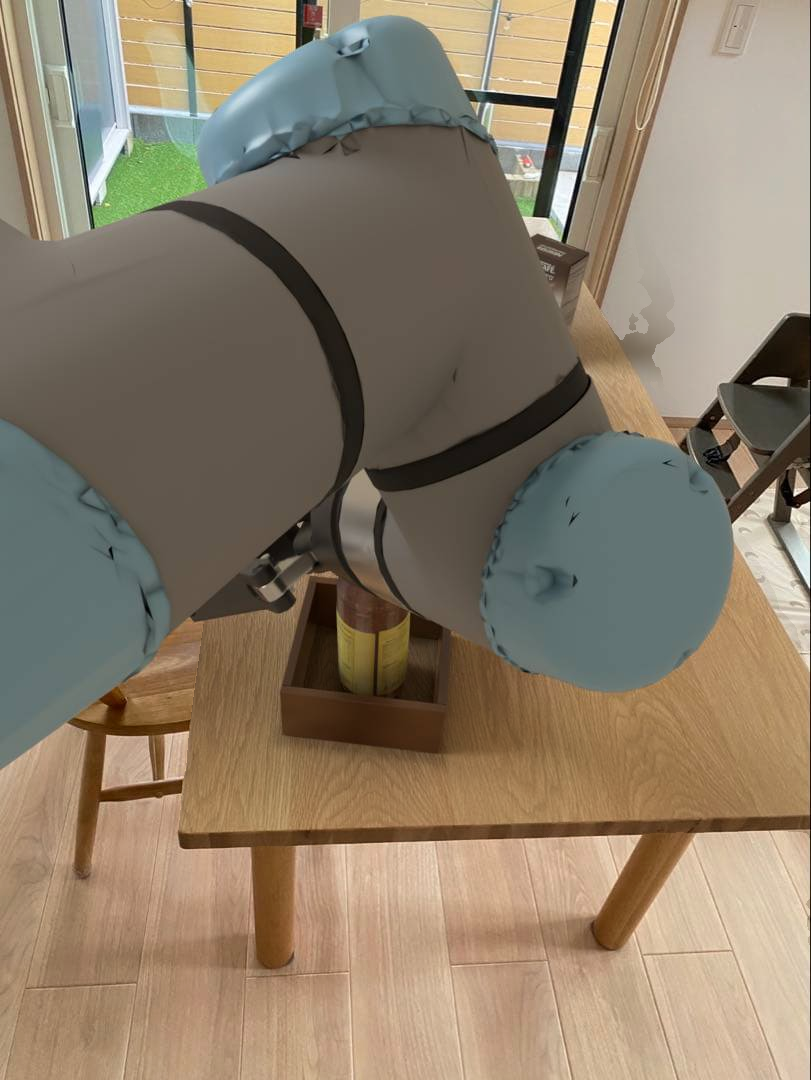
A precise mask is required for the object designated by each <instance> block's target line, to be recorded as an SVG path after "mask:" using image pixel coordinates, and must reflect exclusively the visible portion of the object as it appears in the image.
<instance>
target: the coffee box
mask: <svg viewBox="0 0 811 1080" xmlns="http://www.w3.org/2000/svg"><path fill="white" fill-rule="evenodd" d="M530 237H531V240H532V242H533V244H534V247H535V249H536V252H537V254H538V257H539V259H540V261H541V264H542V266H543V269H544V271H545V274H546V276H547V279H548V281H549V283H550V286H551V288H552V291H553V293H554V296H555V298H556V300H557V303H558V305H559V308H560V310H561V313H562V315H563V317H564V320H565V322H566V325H567V327H568V330H569V332H570V333H571V330H572V326H573V322H574V318H575V314H576V310H577V307H578V303H579V298H580V295H581V290H582V285H583V282H584V278H585V275H586V270H587V266H588V262H589V258H590V252H589V251H587V250H584V249H581V248H578V247H576V246H573V245H571V244H568V243H565V242H562V241H559V240H557V239H554V238H551V237H548V236H545V235H543V234H541V233H535V234H534V235H532V236H530Z"/></svg>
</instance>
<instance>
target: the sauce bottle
mask: <svg viewBox="0 0 811 1080" xmlns="http://www.w3.org/2000/svg"><path fill="white" fill-rule="evenodd" d="M336 579H337V583H336V584H337V605H336V609H337V627H336V630H337V633H336V634H337V656H338V658H337V662H338V664H337V665H338V676H339V679H340V683H341V686H342V687H343V689H344V691H345V693H350V694H359V695H367V696H375V697H384V698H392V699H396V697H397V696H399V694H400V693H401V692H402V690H403V687H404V684H405V680H406V676H407V674H408V658H409V657H408V656H409V644H410V643H409V641H410V636H409V628H410V611H407V610H405V609H403V608H401V607H399V606H397V605H395V604H393V603H390V602H388V601H386V600H384V599H382V598H380V597H377V596H375V595H372V594H370V593H368V592H366V591H364V590H362V589H360V588H358V587H355V586H353V585H351V584H349V583H347V582H346V581H344V580H342V579H341V578H339V577H338V576H337V578H336Z"/></svg>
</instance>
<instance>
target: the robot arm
mask: <svg viewBox="0 0 811 1080" xmlns="http://www.w3.org/2000/svg"><path fill="white" fill-rule="evenodd" d="M196 144H197V145H196V155H197V157H196V158H197V162H198V166H199V169H200V170H199V171H200V172H201V174H202V177H203V179H204V181H205V184H206V186H207V187H206V188H203V189H200V190H197V191H194V192H192V193H189V194H185V195H184V196H181V197H178V198H175V199H173V200H170V201H167V202H164V203H161V204H159V205H155V206H154V207H151V208H147V209H145V210H143V211H140V212H138V213H135V214H133V215H130V216H127V217H124V218H120V219H118V220H115V221H112V222H110V223H106V224H104V225H100V226H98V227H95V228H91V229H89V230H87V231H84V232H79V233H78V234H74V235H71V236H69V237H66V238H63V239H59V240H46V239H45V240H44V239H42V240H41V239H36V238H33V237H30V236H28V235H26V233H24V232H22V231H21V230H19V229H17V228H16V227H14V226H13V225H11V224H10V223H8V222H7V221H5V220H3V219H2V218H0V771H2V770H4V768H6V767H7V766H9V765H10V764H11V763H13V762H15V760H17V759H19V758H20V757H22V756H23V755H24V754H25V753H27V752H28V751H29V750H31V749H32V748H34V747H35V746H37V745H38V744H39V743H40V742H42V741H43V740H45V739H47V737H49V736H50V735H51V734H53V733H54V732H56V731H57V730H59V729H60V728H62V727H63V726H64V725H65V724H67V723H68V722H70V721H71V720H73V719H74V718H75V717H76V716H78V715H80V714H81V713H82V712H84V711H85V710H86V709H87V708H89V707H90V706H92V705H93V704H94V703H96V702H98V701H99V700H100V699H101V698H102V697H104V696H106V695H107V694H109V692H111V691H113V690H114V689H115V688H116V687H118V686H119V685H122V684H124V683H126V682H127V681H128V680H129V679H131V678H133V677H135V676H136V675H138V674H140V673H141V672H142V671H143V670H144V669H146V667H147V666H148V665H150V664H151V663H152V662H153V660H154V659H155V657H156V656H157V653H158V651H159V649H160V647H161V646H162V644H163V642H164V641H165V639H167V637H169V636H170V635H171V634H172V633H173V632H174V631H176V630H177V629H178V628H179V627H180V626H181V625H182V624H184V623H185V621H186V620H188V619H189V618H190V620H191V621H192V622H193V623H198V622H204V621H209V620H214V619H221V618H227V617H231V616H232V617H233V616H237V615H243V614H248V613H254V612H261V611H265V610H266V611H269V612H271V613H273V614H277V615H278V614H279V615H280V614H283V613H285V612H288V611H289V610H291V608H293V607H294V606H295V605H296V602H297V598H296V596H295V595H294V594H295V592H296V588H295V587H294V585H295V584H296V583H297V582H299V581H300V580H301V579H302V578H303V577H304V576H306V575H311V574H323V573H328V572H331V573H332V574H333V575H335V576H336V577H337V578H338V577H339V578H341V579H342V580H344V581H346V582H347V583H349V584H351V585H353V586H355V587H358V588H360V589H362V590H364V591H366V592H368V593H370V594H372V595H375V596H377V597H380V598H382V599H384V600H386V601H388V602H390V603H393V604H395V605H397V606H399V607H401V608H403V609H405V610H407V611H410V612H412V613H414V614H416V615H418V616H420V617H422V618H424V619H427V620H428V621H430V622H433V623H436V624H439V625H441V626H443V627H445V628H447V629H449V630H451V632H453V633H454V634H456V635H459V636H460V637H462V638H463V639H466V640H468V641H470V642H472V643H474V644H475V645H477V646H480V647H482V648H484V649H485V650H488V651H489V652H491V653H493V654H495V655H496V656H498V657H499V658H501V659H504V660H503V663H505V664H508V665H510V666H511V667H515V668H516V669H517V670H519V671H520V672H522V673H526V674H529V675H542V676H545V677H548V678H551V679H554V680H556V681H559V682H562V683H565V684H568V685H570V686H573V687H576V688H579V689H582V690H585V691H589V692H597V693H605V694H619V693H621V694H622V693H626V692H627V693H628V692H631V691H632V692H633V691H637V690H639V689H644V688H647V687H649V686H652V685H655V684H656V683H658V682H660V681H661V680H663V679H664V678H666V677H668V676H669V675H670V674H672V672H673V671H675V670H677V669H679V668H680V667H681V666H682V665H683V663H684V662H685V661H686V660H688V659H689V658H690V657H691V656H692V655H693V654H695V653H696V652H697V651H698V650H699V649H700V648H701V646H702V645H703V643H704V642H705V640H706V639H707V638H708V637H709V635H710V633H711V632H712V631H713V629H714V627H715V625H716V624H717V622H718V619H719V618H720V615H721V614H722V610H723V608H724V605H725V602H726V601H727V597H728V594H729V589H730V586H731V580H732V575H733V569H734V558H735V540H734V539H735V538H734V529H733V525H732V519H731V516H730V511H729V508H728V505H727V502H726V500H725V497H724V495H723V493H722V491H721V488H720V486H718V484H717V482H716V481H715V479H714V477H713V476H712V475H711V474H709V473H708V472H707V471H706V470H704V469H703V468H702V467H701V465H700V464H698V462H697V461H696V460H694V459H693V458H692V457H691V456H690V455H688V454H687V453H686V452H685V451H684V450H682V449H681V448H680V447H679V446H677V445H674V444H672V443H669V442H667V441H664V440H662V439H658V438H653V437H647V436H645V435H643V434H642V433H639V432H637V431H633V432H630V431H629V430H628V429H626V430H622V431H616V430H614V428H613V425H612V424H611V421H610V418H609V416H608V413H607V411H606V409H605V407H604V404H603V401H602V399H601V396H600V394H599V392H598V389H597V387H596V385H595V382H594V379H593V378H592V376H591V375H590V374H589V373H587V372H586V369H585V367H584V365H583V363H582V360H581V358H580V357H579V356H578V355H579V352H578V350H577V347H576V344H575V342H574V339H573V336H572V335H571V331H570V332H569V330H568V327H567V325H566V322H565V320H564V317H563V315H562V313H561V310H560V308H559V305H558V303H557V300H556V298H555V296H554V293H553V291H552V288H551V286H550V283H549V281H548V279H547V276H546V274H545V271H544V269H543V266H542V264H541V261H540V259H539V257H538V254H537V252H536V249H535V247H534V244H533V242H532V240H531V237H532V236H531V235H530V233H529V230H528V228H527V225H526V223H525V220H524V218H523V215H522V212H521V210H520V208H519V205H518V202H517V201H516V198H515V196H514V193H513V190H512V189H511V186H510V184H509V181H508V179H507V176H506V174H505V171H504V169H503V166H502V164H501V162H500V152H499V148H498V146H497V143H496V140H495V138H494V136H493V134H491V133H489V132H488V129H487V127H486V126H485V125H483V124H482V123H481V121H480V118H479V117H478V115H477V113H476V111H475V109H474V106H473V104H472V103H471V100H470V99H469V96H468V94H467V93H466V91H465V89H464V87H463V85H462V83H461V81H460V79H459V77H458V75H457V73H456V71H455V69H454V67H453V65H452V63H451V61H450V59H449V57H448V55H447V53H446V51H445V49H444V46H443V44H442V43H441V41H440V40H439V38H438V37H437V36H436V34H435V33H434V32H433V31H431V30H430V29H429V28H428V27H427V25H425V24H424V23H422V22H420V21H418V20H416V19H414V18H411V17H409V16H404V15H395V14H386V15H385V14H384V15H377V16H372V17H368V18H367V17H366V18H363V19H361V20H358V21H355V22H353V23H351V24H349V25H346V26H344V27H343V28H342V29H340V30H339V31H337V32H335V33H333V34H331V35H330V36H328V37H325V38H324V39H321V38H315V39H313V40H311V41H309V42H307V43H305V44H304V45H301V46H299V47H297V48H296V49H294V50H292V51H291V52H289V53H288V54H286V55H284V56H282V57H281V58H279V59H278V60H275V61H273V63H271V64H270V65H269V66H266V67H265V68H263V69H262V70H260V72H258V73H257V74H255V75H254V76H252V77H251V78H250V79H248V80H247V81H245V82H244V83H243V84H241V86H239V87H238V88H237V89H236V90H234V91H233V92H232V93H231V94H230V95H229V96H228V97H227V98H226V99H225V100H224V101H223V102H222V103H221V104H220V105H218V107H217V108H216V109H215V110H214V111H213V112H212V114H211V115H210V116H209V117H208V119H207V120H206V121H205V122H204V125H203V127H202V128H201V131H200V133H199V137H198V140H197V143H196ZM300 523H301V525H300V526H299V524H300Z"/></svg>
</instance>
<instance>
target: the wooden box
mask: <svg viewBox="0 0 811 1080" xmlns="http://www.w3.org/2000/svg"><path fill="white" fill-rule="evenodd" d="M337 579H338V578H335V577H327V576H318V575H317V576H316V575H309V577H308V581H307V585H306V589H305V593H304V597H303V601H302V604H301V608H300V612H299V616H298V619H297V624H296V628H295V632H294V635H293V639H292V643H291V647H290V651H289V654H288V658H287V663H286V667H285V670H284V674H283V678H282V683H281V686H280V690H279V707H280V721H281V723H280V724H281V735H283V736H292V737H299V738H305V739H307V738H308V739H316V740H323V741H333V742H342V743H349V744H358V745H364V746H365V745H366V746H367V745H368V746H374V747H381V748H391V749H399V750H407V751H415V752H422V753H432V754H439V753H440V749H441V744H442V738H443V732H444V729H445V728H444V727H445V722H446V716H447V710H448V709H447V708H448V706H447V705H448V693H449V678H450V677H449V676H450V663H451V661H450V660H451V658H450V657H451V647H452V631H451V630H449V629H447V628H445V627H443V626H441V625H439V624H436V623H433V622H430V621H428V620H427V619H424V618H422V617H420V616H418V615H416V614H414V613H412V612H410V628H409V637H416V638H425V639H434V640H437V653H436V664H435V665H436V666H435V677H434V691H433V703H432V702H426V701H417V700H407V699H400V698H399V699H398V698H393V699H392V698H384V697H375V696H367V695H359V694H350V693H346V692H340V691H334V690H333V691H332V690H326V689H325V690H324V689H318V688H317V689H315V688H306V687H303V686H304V682H305V677H306V673H307V668H308V665H309V660H310V657H311V651H312V648H313V643H314V638H315V635H316V630H317V626H322V627H332V628H337V609H336V605H337V584H336V583H337Z"/></svg>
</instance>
